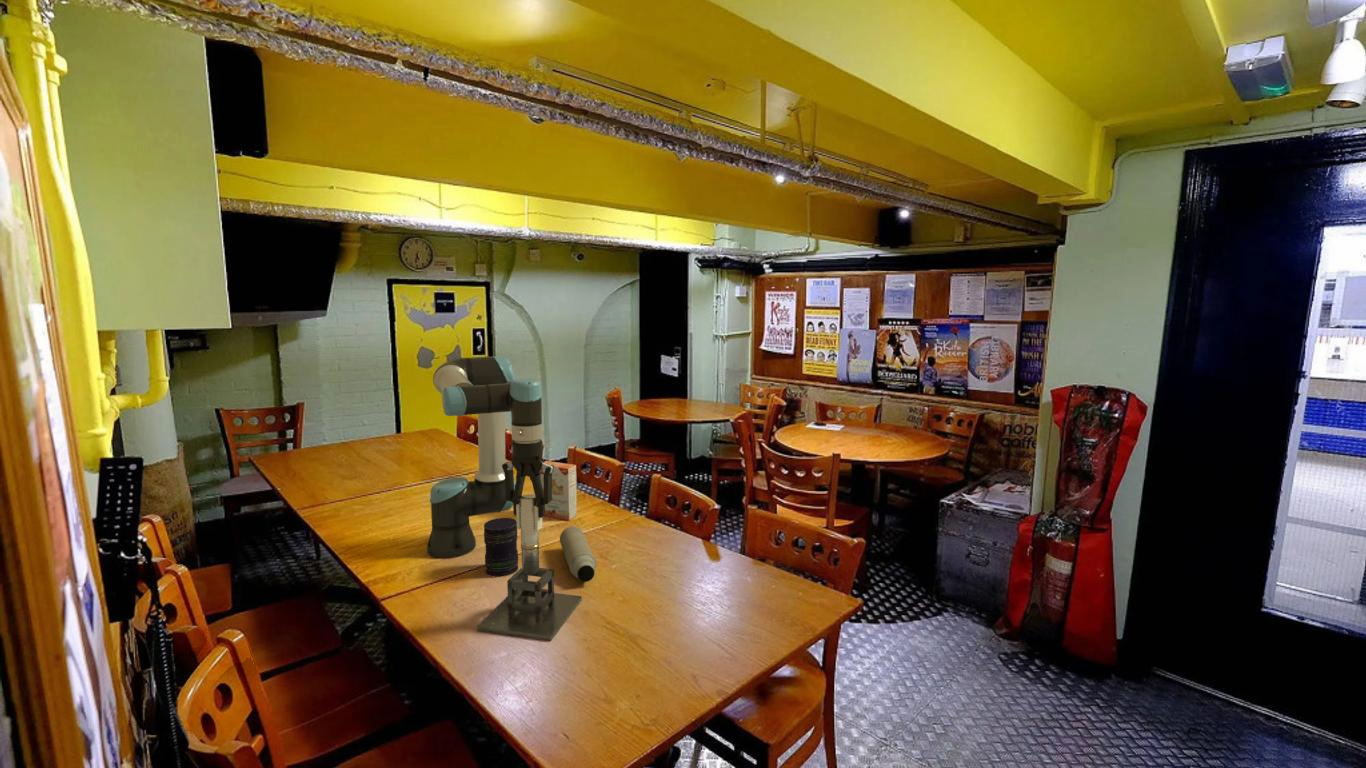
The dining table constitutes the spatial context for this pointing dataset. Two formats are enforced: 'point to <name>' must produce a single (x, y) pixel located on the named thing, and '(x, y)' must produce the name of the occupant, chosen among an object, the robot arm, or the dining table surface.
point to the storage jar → (501, 547)
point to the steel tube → (529, 535)
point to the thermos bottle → (578, 553)
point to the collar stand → (531, 608)
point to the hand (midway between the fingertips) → (529, 527)
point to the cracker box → (562, 491)
